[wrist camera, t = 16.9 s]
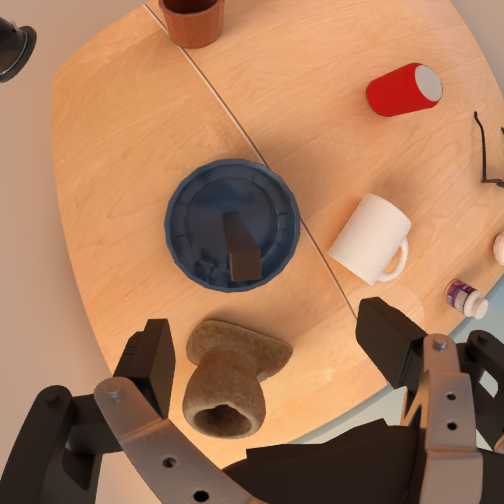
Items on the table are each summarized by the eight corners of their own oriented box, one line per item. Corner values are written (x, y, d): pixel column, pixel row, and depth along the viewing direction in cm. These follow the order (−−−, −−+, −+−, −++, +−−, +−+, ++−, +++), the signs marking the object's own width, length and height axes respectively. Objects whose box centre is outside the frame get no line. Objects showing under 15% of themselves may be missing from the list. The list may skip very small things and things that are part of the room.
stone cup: (175, 363, 41) (165, 433, 27) (203, 305, 39) (199, 374, 25) (257, 389, 45) (272, 455, 31) (291, 339, 43) (321, 405, 28)
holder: (167, 51, 28) (156, 21, 20) (170, 12, 26) (161, -21, 18) (222, 47, 29) (225, 15, 21) (221, 8, 27) (225, -26, 19)
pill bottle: (462, 280, 45) (493, 298, 36) (453, 303, 47) (482, 323, 37) (449, 276, 44) (482, 294, 35) (440, 301, 46) (470, 322, 36)
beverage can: (355, 94, 33) (403, 72, 22) (377, 74, 32) (425, 52, 21) (381, 125, 35) (434, 115, 23) (401, 104, 34) (452, 91, 23)
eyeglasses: (474, 180, 40) (492, 183, 35) (471, 110, 35) (489, 108, 31) (504, 188, 41) (519, 191, 37) (503, 127, 37) (518, 127, 32)
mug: (318, 247, 39) (342, 264, 31) (356, 190, 37) (386, 195, 30) (371, 284, 42) (398, 305, 34) (404, 234, 40) (435, 247, 33)
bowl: (179, 278, 37) (173, 296, 32) (168, 166, 33) (159, 164, 27) (287, 270, 39) (299, 286, 33) (285, 160, 35) (299, 157, 29)
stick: (223, 228, 36) (231, 281, 18) (222, 213, 35) (230, 252, 18) (239, 227, 36) (261, 279, 19) (238, 212, 35) (260, 250, 18)
